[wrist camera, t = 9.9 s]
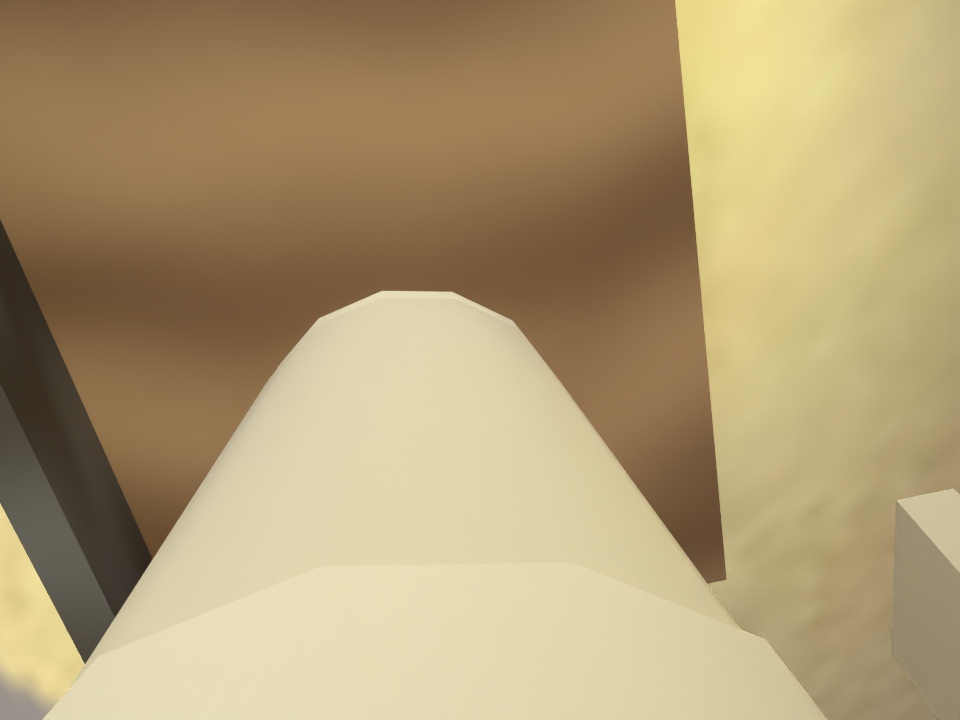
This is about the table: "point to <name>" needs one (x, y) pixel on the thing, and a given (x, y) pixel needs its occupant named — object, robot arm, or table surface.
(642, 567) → the foam cup
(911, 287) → the table surface
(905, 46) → the table surface
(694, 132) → the table surface
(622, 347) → the shelf board
